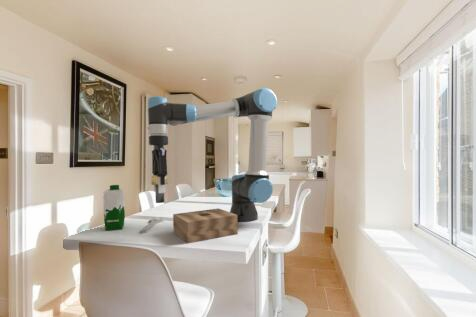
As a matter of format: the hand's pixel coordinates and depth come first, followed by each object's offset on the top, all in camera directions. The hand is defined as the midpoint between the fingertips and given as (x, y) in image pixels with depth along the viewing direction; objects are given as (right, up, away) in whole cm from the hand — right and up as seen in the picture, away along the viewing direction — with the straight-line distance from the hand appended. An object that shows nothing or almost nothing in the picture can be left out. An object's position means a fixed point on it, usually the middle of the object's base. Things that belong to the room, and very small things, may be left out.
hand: (159, 191), depth 113 cm
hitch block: (+18, -18, +6) cm, 26 cm away
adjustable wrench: (-11, -19, +20) cm, 30 cm away
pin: (0, -4, 0) cm, 4 cm away
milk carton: (-26, -19, +17) cm, 37 cm away
